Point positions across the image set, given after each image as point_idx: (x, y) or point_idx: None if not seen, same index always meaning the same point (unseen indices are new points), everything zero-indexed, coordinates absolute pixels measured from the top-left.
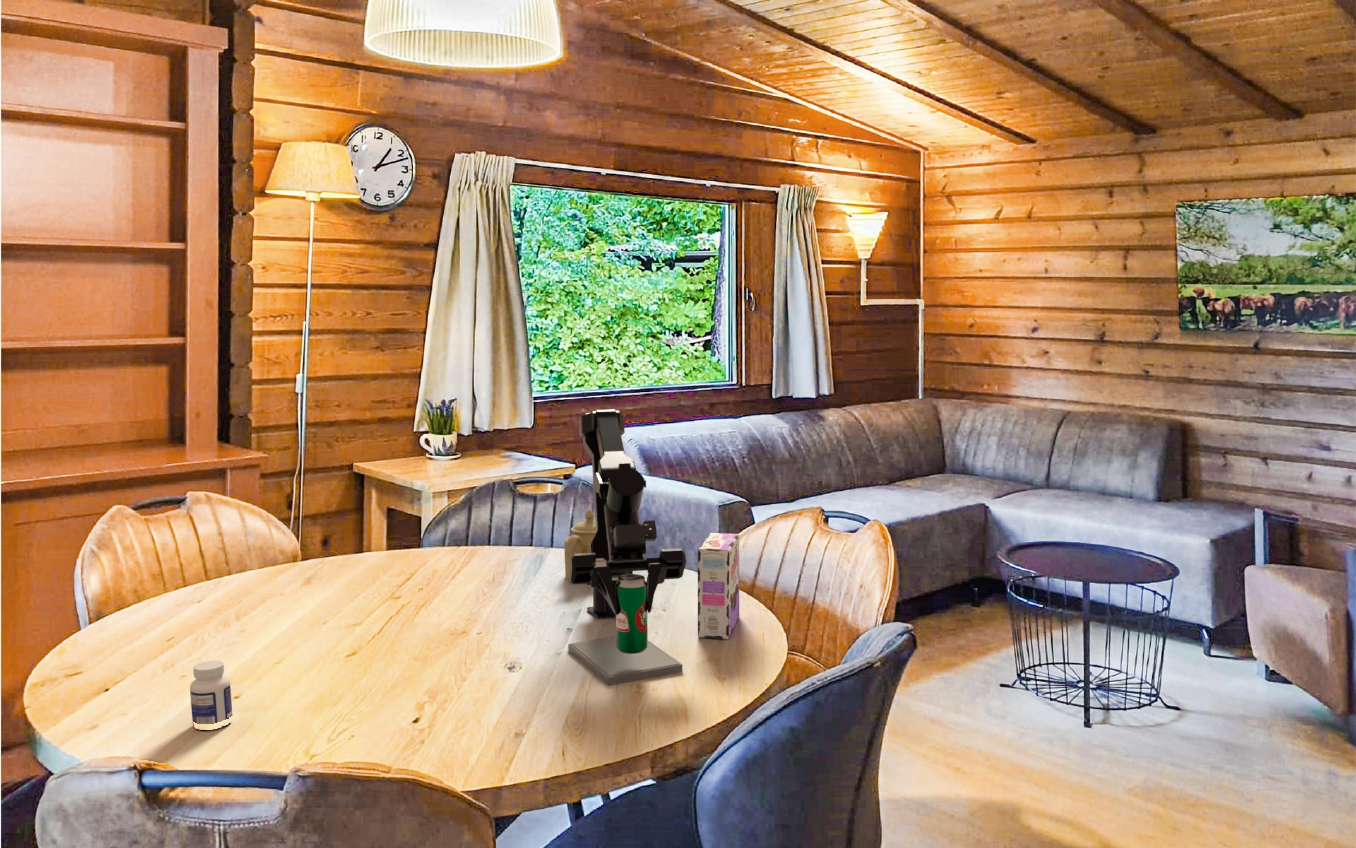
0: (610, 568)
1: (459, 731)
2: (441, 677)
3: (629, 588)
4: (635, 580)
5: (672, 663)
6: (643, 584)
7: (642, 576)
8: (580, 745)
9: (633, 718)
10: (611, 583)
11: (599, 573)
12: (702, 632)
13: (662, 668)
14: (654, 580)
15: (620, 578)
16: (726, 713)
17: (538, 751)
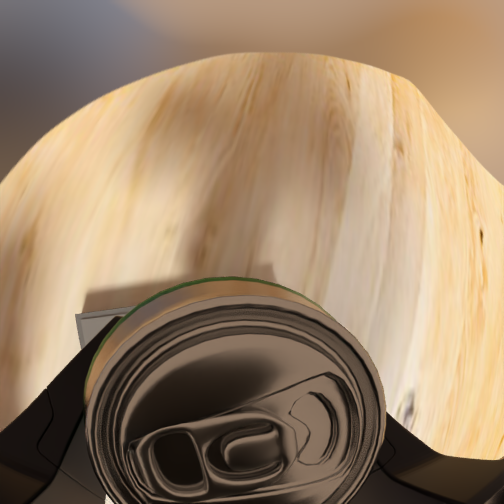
0: (463, 501)
1: (449, 186)
2: (473, 371)
3: (284, 289)
4: (224, 336)
5: (95, 325)
6: (127, 328)
7: (107, 476)
8: (331, 88)
9: (250, 121)
10: (383, 452)
11: (482, 461)
12: None
13: (125, 307)
14: (19, 441)
15: (345, 477)
16: (101, 99)
17: (373, 100)
